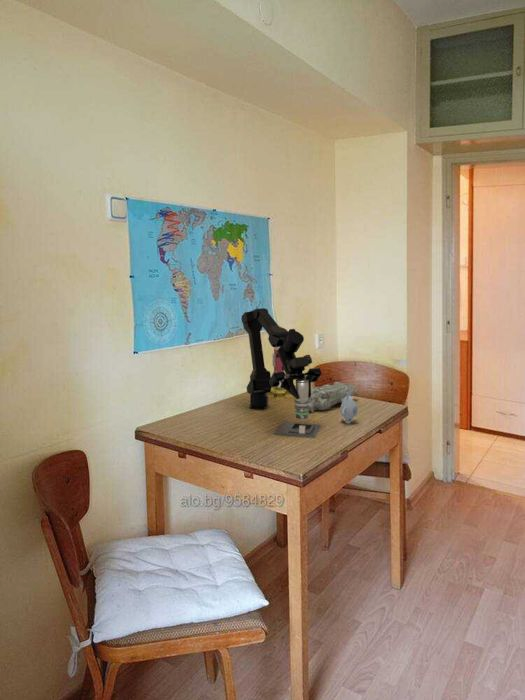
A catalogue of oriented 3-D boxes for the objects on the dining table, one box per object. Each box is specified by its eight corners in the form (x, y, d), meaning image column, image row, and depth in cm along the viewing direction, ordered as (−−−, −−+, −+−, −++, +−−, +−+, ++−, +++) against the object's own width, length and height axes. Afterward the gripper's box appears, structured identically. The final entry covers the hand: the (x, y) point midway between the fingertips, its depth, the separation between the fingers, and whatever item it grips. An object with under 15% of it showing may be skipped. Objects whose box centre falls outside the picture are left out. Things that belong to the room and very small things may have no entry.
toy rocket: (290, 392, 241) (291, 326, 236) (294, 399, 230) (294, 330, 224) (264, 392, 241) (264, 327, 236) (266, 399, 229) (266, 330, 224)
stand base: (274, 434, 184) (274, 424, 183) (283, 423, 195) (283, 414, 195) (314, 438, 180) (314, 428, 179) (321, 427, 191) (321, 417, 191)
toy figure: (349, 427, 191) (350, 395, 189) (334, 424, 194) (334, 392, 192) (362, 420, 199) (363, 389, 197) (347, 417, 203) (348, 387, 201)
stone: (366, 375, 221) (316, 397, 203) (366, 398, 225) (317, 422, 206) (343, 369, 231) (294, 389, 212) (344, 392, 234) (295, 414, 215)
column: (292, 418, 183) (293, 381, 181) (296, 414, 188) (296, 378, 186) (307, 419, 182) (308, 382, 179) (310, 415, 186) (311, 379, 184)
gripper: (272, 349, 180) (288, 388, 172) (319, 345, 188) (336, 382, 180) (262, 367, 188) (277, 405, 181) (308, 363, 196) (323, 399, 189)
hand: (304, 397), depth 182 cm, fingers closed on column, 4 cm apart
